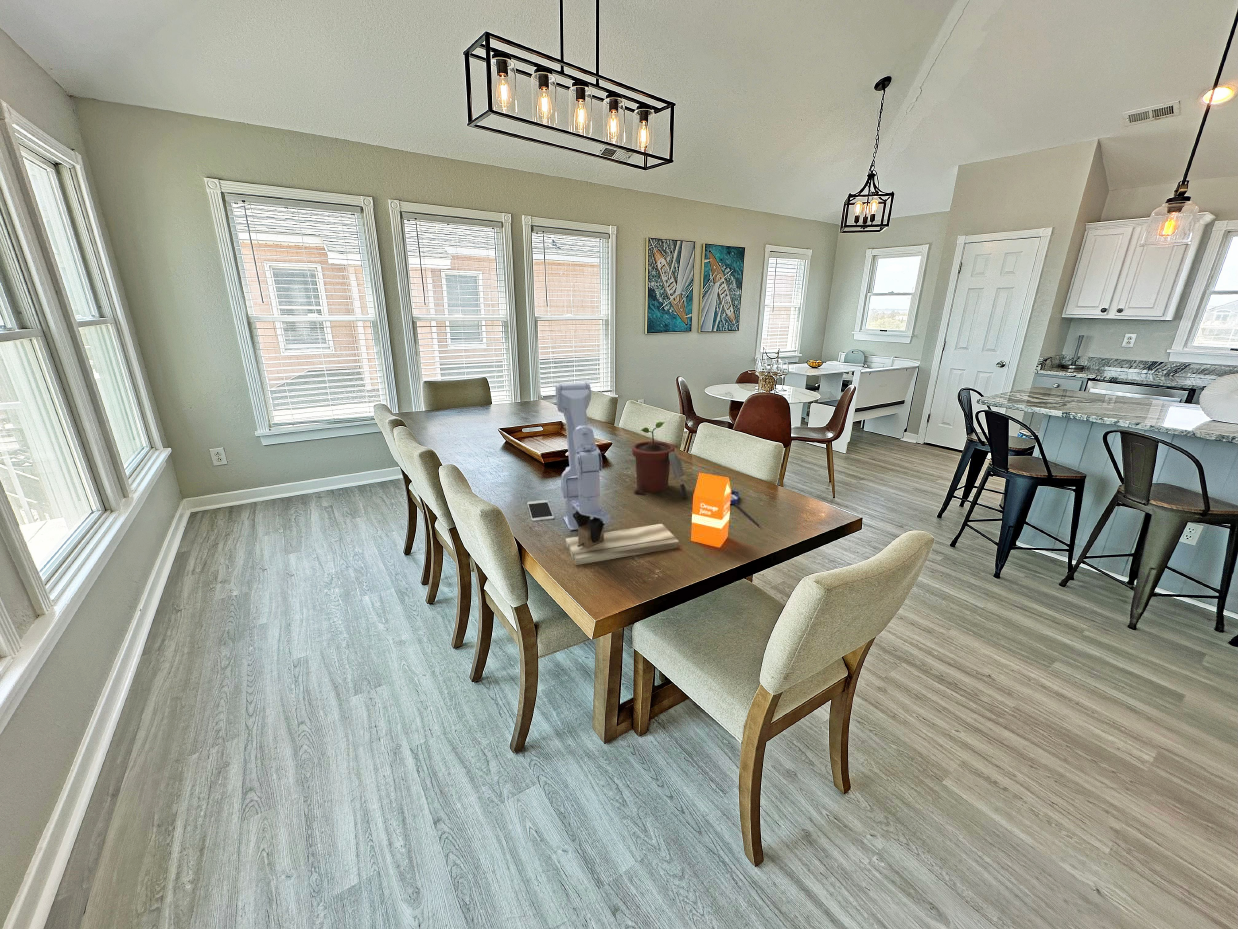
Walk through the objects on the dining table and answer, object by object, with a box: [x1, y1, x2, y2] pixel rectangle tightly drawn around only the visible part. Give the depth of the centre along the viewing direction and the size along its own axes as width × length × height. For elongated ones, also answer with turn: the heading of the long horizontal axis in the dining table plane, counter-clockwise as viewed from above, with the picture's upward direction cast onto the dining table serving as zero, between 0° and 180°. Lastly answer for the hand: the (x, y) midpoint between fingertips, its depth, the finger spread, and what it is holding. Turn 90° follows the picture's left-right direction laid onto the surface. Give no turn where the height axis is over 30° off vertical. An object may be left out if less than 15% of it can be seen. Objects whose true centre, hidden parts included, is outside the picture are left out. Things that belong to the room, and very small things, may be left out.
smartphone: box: [526, 499, 555, 523], centre depth 160 cm, size 7×16×1 cm, turn 16°
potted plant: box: [631, 421, 689, 499], centre depth 174 cm, size 18×22×25 cm
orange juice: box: [690, 472, 732, 548], centre depth 138 cm, size 8×9×20 cm
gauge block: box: [577, 524, 605, 548], centre depth 133 cm, size 8×4×5 cm, turn 135°
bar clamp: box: [730, 489, 764, 531], centre depth 159 cm, size 32×2×10 cm
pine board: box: [565, 523, 680, 566], centre depth 137 cm, size 12×30×2 cm, turn 109°
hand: (590, 538), depth 134 cm, fingers closed on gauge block, 4 cm apart
